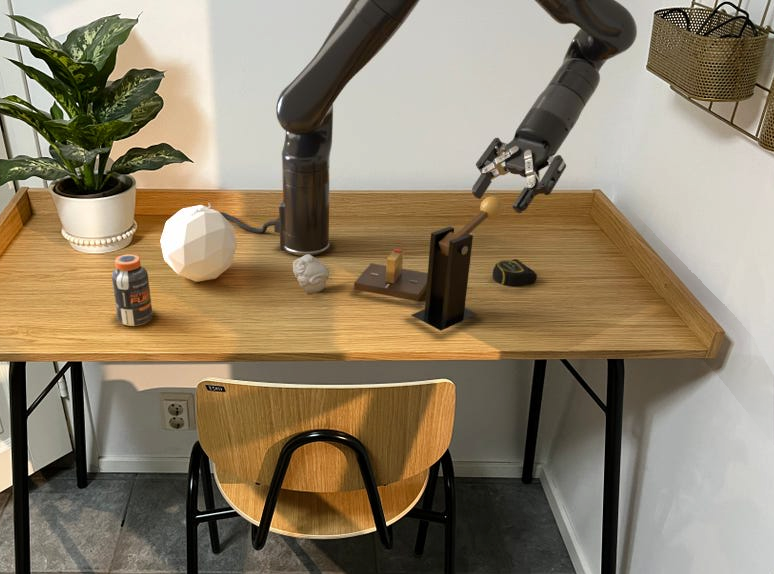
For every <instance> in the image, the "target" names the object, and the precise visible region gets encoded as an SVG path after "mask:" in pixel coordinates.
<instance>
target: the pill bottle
mask: <svg viewBox="0 0 774 574" xmlns="http://www.w3.org/2000/svg"><path fill="white" fill-rule="evenodd" d="M114 261H115V269H114V270H113V272H112V274H111V281H112V287H113V294H114V302H115V307H116V313H117V314H116V315H117V320H118V322H119V323H120V324H122V325H124V326H129V327H135V326H136V327H137V326H141V325H144V324H146V323H148V322H150V321H151V320H152V319H153V317H154V314H153V307H152V297H151V289H150V281H149V274H148V271H147V269H146V268H145V267H144V266H142V264H141V257H140V256H138V255H136V254H123V255H119V256H117V257H116V258H115V260H114Z"/></svg>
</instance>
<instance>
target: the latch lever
mask: <svg viewBox="0 0 774 574" xmlns="http://www.w3.org/2000/svg"><path fill="white" fill-rule="evenodd" d="M479 208H480V209H479V210H480V211H479V212H478V213H477V214H476V215H475V216H474V217H472V219H471V220H469V222H467V223H466V224H465V225H464V226H463V227H462V228H461V229H460V230H459V231H457V232H456V233H455V232H454V233H452V232H449V233H448V234H447V235H446V236H445V237H444V238H443V239H442V240H441V241H440V242H439V245H440V249H441V252H442V254H445V255H447V256H448V252H449V241H450V240H453V239H456V238H458V237H461V236H464V235H466V234H470V235H471V233H472V232H473V231H474V230H476V228H477V227H479V226H480V225H481V224H482V223H483V222H484V221H485V220H486V219H492V220H493V219H497V218H498V217H500V215H501V214H502V212H503V210H504V206H503V202H502V200H501V199H500V198H499V197H497V196H494V195H493V196H492V195H491V196H487V197H485V198H484V199H483V200H482V201H481V202H480V207H479Z"/></svg>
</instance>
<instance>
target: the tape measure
mask: <svg viewBox="0 0 774 574" xmlns="http://www.w3.org/2000/svg"><path fill="white" fill-rule="evenodd" d="M491 275H492V278H493V281H495V282H496V283H497V284H499V285H502V286H504V287H510V288H519V287H524V286H529V285H533V284H535V283H536V282H537V279H538V275H537V273H536V272H535V271H534V270H533V269H531V268H530V267H529V266H527V265H525V264H524V263H523V262H522V261H520V260H519V259H517V258H514V259H503V260H499V261H498V262H496V263H495V265H494V267H493V269H492V274H491Z"/></svg>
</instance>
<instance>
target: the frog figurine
mask: <svg viewBox="0 0 774 574" xmlns="http://www.w3.org/2000/svg"><path fill="white" fill-rule="evenodd" d="M292 271H293V274H294V276H295V278H297V279H296V280H297V281H298V283H299V287H300V288H301V290H303V292H305V293H307V294H309V295H314V294H318V293H320V292H323V290H324V289H325V288H326V286H327V281H328V279H329V278H330V269H329V268H328V267H327V266H326V265H325V264H324V263H323V262H322V261H320V260H319V259H317V258H316V257H314V256H311V255H310V254H307V255H304V256H300V257H298V258H297V259H295V260H293V261H292Z"/></svg>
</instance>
